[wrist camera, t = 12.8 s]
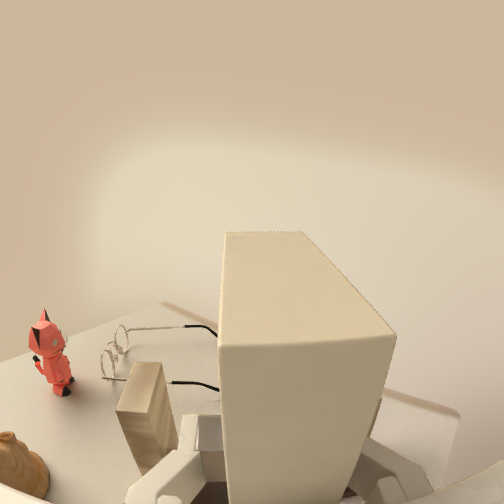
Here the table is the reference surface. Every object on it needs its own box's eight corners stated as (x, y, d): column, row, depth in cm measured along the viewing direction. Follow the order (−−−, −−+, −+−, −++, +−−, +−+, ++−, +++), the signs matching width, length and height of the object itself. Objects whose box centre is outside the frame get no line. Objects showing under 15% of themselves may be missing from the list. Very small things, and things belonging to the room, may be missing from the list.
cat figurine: (77, 400, 37) (52, 328, 33) (37, 399, 35) (9, 329, 32) (84, 372, 43) (65, 305, 40) (48, 372, 42) (27, 307, 38)
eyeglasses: (125, 339, 54) (120, 315, 53) (226, 339, 55) (225, 315, 54) (98, 394, 39) (89, 367, 37) (227, 400, 40) (225, 371, 38)
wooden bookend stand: (338, 443, 31) (359, 347, 28) (357, 494, 24) (395, 401, 20) (156, 451, 30) (128, 356, 26) (146, 506, 22) (102, 416, 19)
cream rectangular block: (280, 475, 14) (302, 231, 10) (298, 577, 8) (399, 334, 4) (233, 477, 14) (224, 231, 10) (238, 581, 8) (216, 346, 4)
